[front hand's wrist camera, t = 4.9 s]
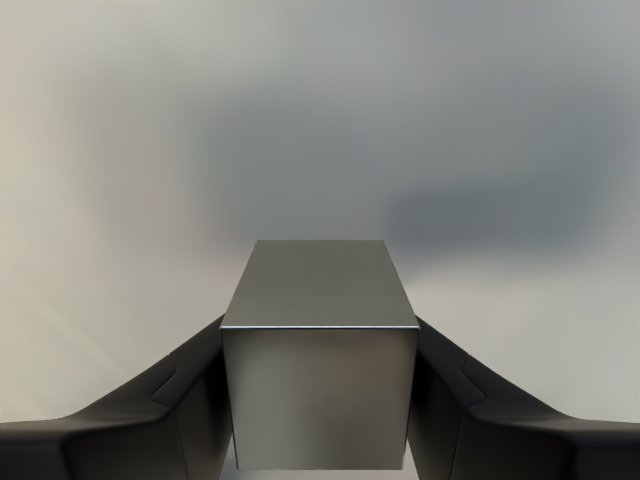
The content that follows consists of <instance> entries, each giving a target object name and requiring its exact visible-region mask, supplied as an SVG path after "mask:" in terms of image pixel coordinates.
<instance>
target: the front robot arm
mask: <svg viewBox="0 0 640 480" xmlns="http://www.w3.org/2000/svg"><path fill="white" fill-rule="evenodd" d="M225 314H226V313H225ZM225 314H223V315H222V316H221V317H219V318H218V319H216V320H215V321H214V322H212V323H211V324H210V325H208V326H207V327H205V328H204V329H203V330H201V331H200V332H199V333H197V334H196V335H194V336H193V337H192V338H190V339H189V340H188V341H186V342H185V343H183V344H182V345H181V346H179V347H178V348H177V349H175V350H174V351H172V352H171V353H170V354H169V355H167V356H165V357H164V358H163V359H161V360H160V361H158V362H157V363H156V364H154V365H153V366H151V367H150V368H148V369H147V370H145V371H144V372H142V373H141V374H139V375H138V376H136V377H135V378H133V379H131V380H130V381H128V382H127V383H125V384H123V385H122V386H120V387H118V388H117V389H115V390H113V391H112V392H110V393H109V394H107V395H105V396H104V397H102V398H100V399H99V400H97V401H95V402H94V403H92V404H90V405H89V406H87V407H86V408H84V409H82V410H80V411H78V412H76V413H74V414H72V415H69V416H66V417H63V418H59V419H53V420H39V421H24V422H9V423H0V480H219V477H220V473H221V470H222V467H223V463H224V460H225V456H226V453H227V449H228V446H229V442H230V439H231V436H232V424H231V416H230V408H229V400H228V392H227V384H226V376H225V368H224V360H223V352H222V344H221V336H220V325H221V323H222V321H223V318H224V316H225ZM415 316H416V315H415ZM416 319H417V321H418V323H419V326H420V335H419V343H418V351H417V359H416V367H415V376H414V384H413V392H412V400H411V408H410V416H409V424H408V432H407V439H408V442H409V446H410V449H411V452H412V456H413V459H414V463H415V466H416V470H417V473H418V477H419V480H640V423H628V422H613V421H598V420H584V419H578V418H574V417H571V416H568V415H566V414H563V413H561V412H559V411H557V410H555V409H554V408H552V407H550V406H548V405H547V404H545V403H544V402H542V401H540V400H539V399H537V398H535V397H534V396H532V395H531V394H529V393H527V392H526V391H524V390H522V389H521V388H519V387H517V386H516V385H514V384H513V383H511V382H509V381H508V380H506V379H505V378H503V377H501V376H500V375H498V374H497V373H495V372H494V371H492V370H491V369H489V368H488V367H487V366H485V365H484V364H482V363H481V362H479V361H478V360H477V359H475V358H474V357H473V356H471V355H469V354H468V353H467V352H466V351H464V350H463V349H461V348H460V347H459V346H457V345H456V344H455V343H453V342H452V341H450V340H449V339H448V338H446V337H445V336H444V335H442V334H441V333H440V332H438V331H437V330H435V329H434V328H433V327H431V326H430V325H429V324H427V323H426V322H425V321H423V320H422V319H420V318H419V317H418V316H416Z"/></svg>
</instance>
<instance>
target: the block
mask: <svg viewBox="0 0 640 480" xmlns="http://www.w3.org/2000/svg"><path fill="white" fill-rule="evenodd" d="M419 335H420V326H419V323H418V321H417V319H416V316H415V314H414V312H413V309H412V307H411V305H410V302H409V300H408V298H407V295H406V293H405V291H404V288H403V286H402V284H401V281H400V279H399V277H398V274H397V272H396V270H395V267H394V265H393V263H392V260H391V258H390V256H389V253H388V251H387V249H386V246H385V244H384V242H383V240H257V242H256V244H255V246H254V249H253V251H252V253H251V256H250V258H249V260H248V263H247V265H246V267H245V270H244V272H243V274H242V277H241V279H240V281H239V283H238V286H237V288H236V290H235V293H234V295H233V297H232V300H231V302H230V304H229V307H228V309H227V311H226V314H225V316H224V318H223V321H222V323H221V325H220V336H221V344H222V352H223V360H224V368H225V376H226V384H227V392H228V400H229V408H230V416H231V424H232V432H233V440H234V448H235V456H236V464H237V469H238V470H402V469H403V465H404V457H405V449H406V441H407V432H408V424H409V416H410V408H411V400H412V392H413V384H414V376H415V367H416V359H417V351H418V343H419Z"/></svg>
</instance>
